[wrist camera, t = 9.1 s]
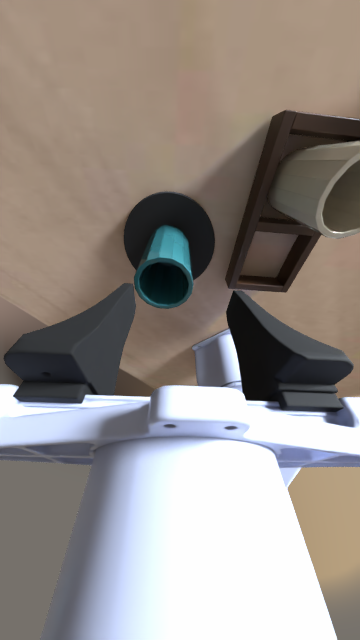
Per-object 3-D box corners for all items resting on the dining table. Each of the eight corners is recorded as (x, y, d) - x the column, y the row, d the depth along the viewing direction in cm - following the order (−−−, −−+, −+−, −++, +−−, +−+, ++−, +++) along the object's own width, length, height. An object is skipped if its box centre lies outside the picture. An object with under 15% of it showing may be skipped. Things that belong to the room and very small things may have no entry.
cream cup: (275, 221, 18) (323, 252, 12) (259, 177, 15) (308, 188, 9) (325, 187, 16) (411, 203, 10) (316, 130, 13) (423, 107, 7)
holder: (224, 279, 22) (228, 288, 21) (272, 115, 13) (285, 109, 11) (279, 283, 23) (286, 292, 21) (363, 127, 13) (389, 122, 12)
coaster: (166, 297, 24) (165, 299, 24) (105, 238, 19) (104, 240, 18) (230, 253, 20) (231, 255, 19) (175, 161, 15) (175, 161, 14)
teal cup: (167, 273, 21) (162, 316, 15) (140, 244, 19) (121, 281, 13) (197, 250, 19) (204, 290, 13) (171, 214, 17) (166, 243, 11)
